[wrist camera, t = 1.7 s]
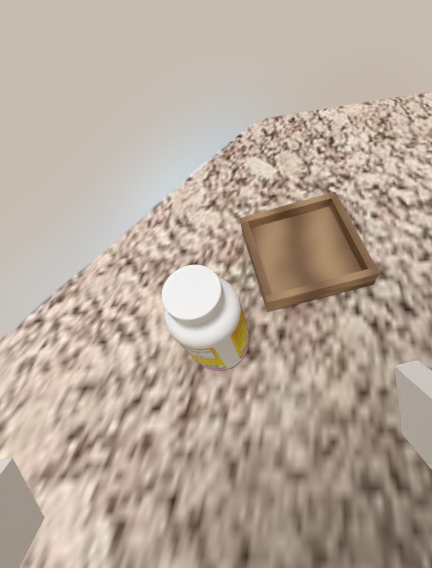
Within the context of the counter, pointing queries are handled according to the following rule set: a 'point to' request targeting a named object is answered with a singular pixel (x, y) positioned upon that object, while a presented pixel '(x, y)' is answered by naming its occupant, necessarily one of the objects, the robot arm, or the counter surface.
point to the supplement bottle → (205, 317)
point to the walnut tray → (306, 252)
